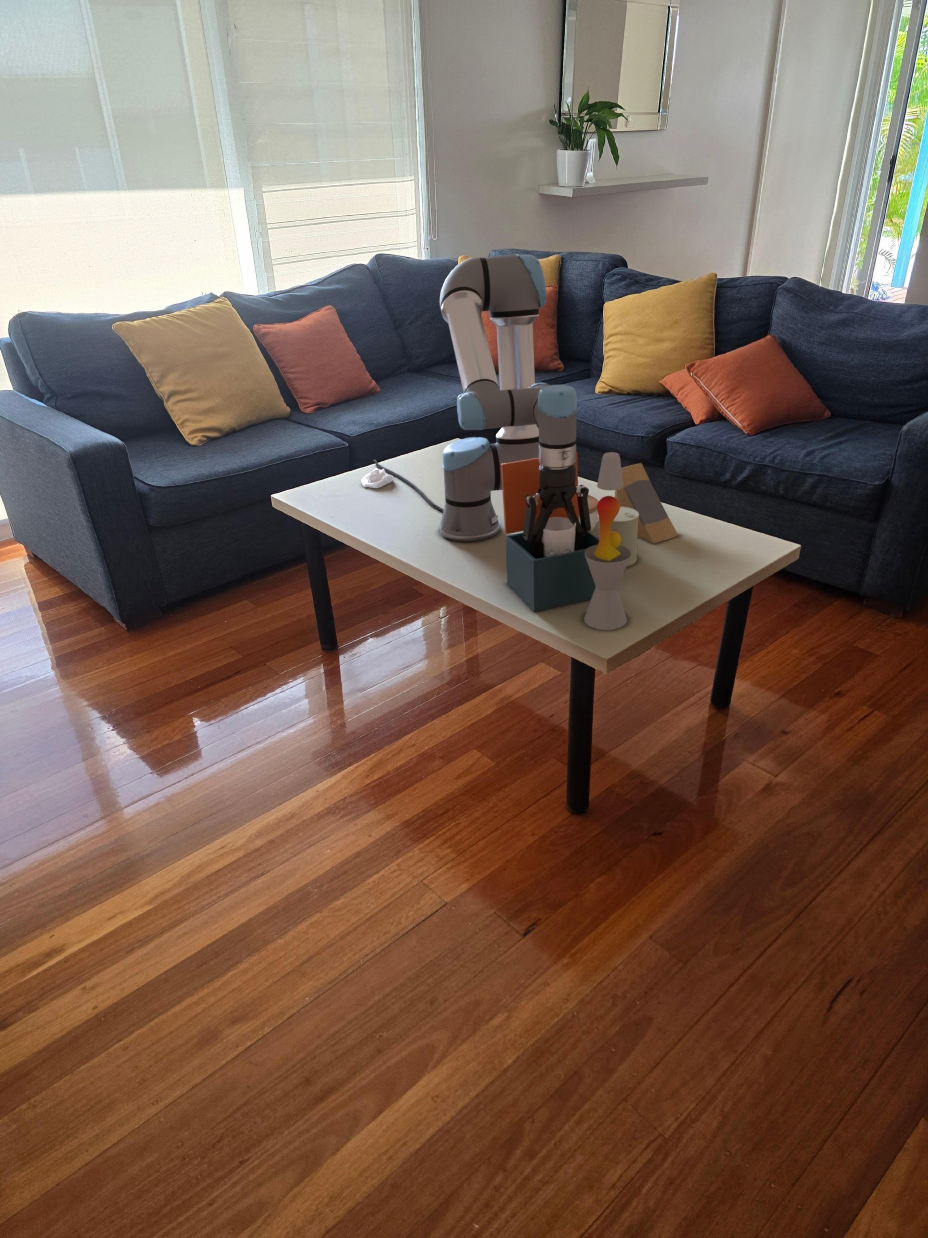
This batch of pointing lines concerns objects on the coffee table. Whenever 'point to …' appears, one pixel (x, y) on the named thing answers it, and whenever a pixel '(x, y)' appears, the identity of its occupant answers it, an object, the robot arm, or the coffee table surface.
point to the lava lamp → (607, 554)
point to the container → (549, 574)
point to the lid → (525, 492)
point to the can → (627, 530)
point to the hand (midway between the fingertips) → (556, 565)
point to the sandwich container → (644, 505)
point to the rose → (376, 479)
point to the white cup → (558, 536)
